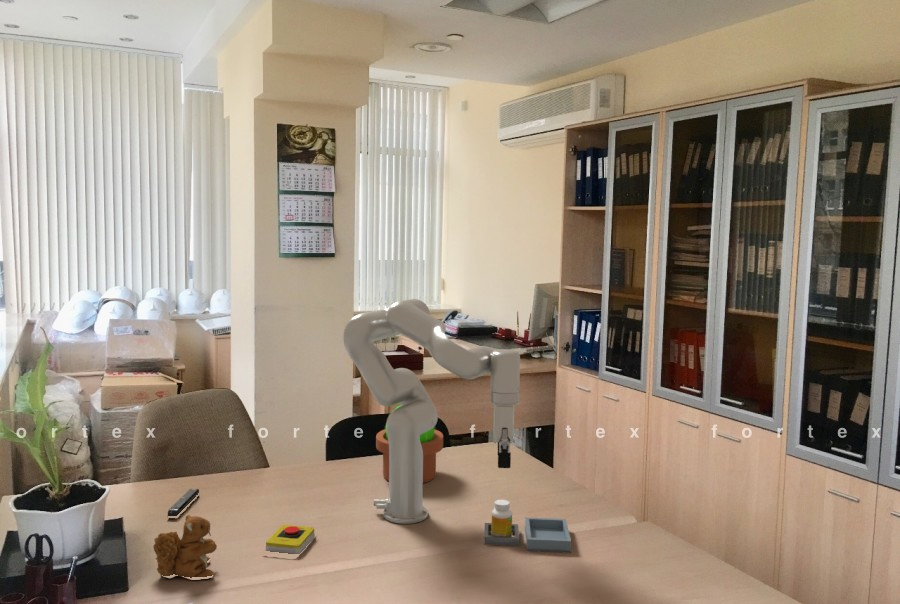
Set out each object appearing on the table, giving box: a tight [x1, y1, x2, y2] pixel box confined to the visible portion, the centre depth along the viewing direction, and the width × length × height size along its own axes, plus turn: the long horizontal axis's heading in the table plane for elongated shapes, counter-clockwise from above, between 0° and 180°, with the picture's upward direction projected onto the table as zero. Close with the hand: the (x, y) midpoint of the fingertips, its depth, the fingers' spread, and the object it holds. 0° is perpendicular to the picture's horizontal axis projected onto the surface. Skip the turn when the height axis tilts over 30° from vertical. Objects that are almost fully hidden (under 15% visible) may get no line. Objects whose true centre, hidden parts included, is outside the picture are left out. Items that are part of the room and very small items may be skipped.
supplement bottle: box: [490, 499, 513, 537], centre depth 189 cm, size 5×5×10 cm
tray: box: [524, 517, 572, 553], centre depth 188 cm, size 11×14×3 cm
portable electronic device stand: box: [167, 488, 200, 517], centre depth 206 cm, size 18×3×3 cm, turn 179°
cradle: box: [483, 522, 520, 547], centre depth 189 cm, size 9×9×2 cm
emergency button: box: [265, 524, 315, 554], centre depth 182 cm, size 9×4×15 cm
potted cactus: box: [375, 404, 444, 484], centre depth 234 cm, size 22×22×25 cm
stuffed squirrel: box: [153, 515, 218, 578], centre depth 166 cm, size 10×14×13 cm
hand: (503, 461), depth 187 cm, fingers open, 9 cm apart
